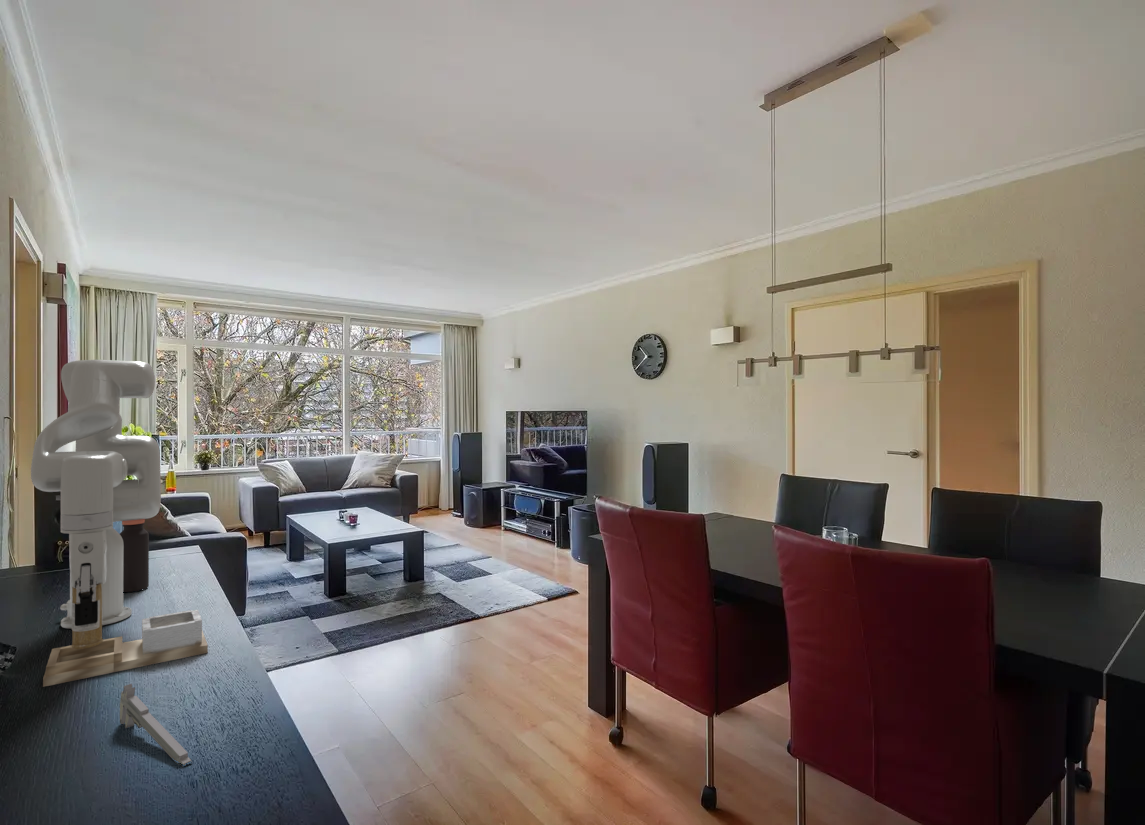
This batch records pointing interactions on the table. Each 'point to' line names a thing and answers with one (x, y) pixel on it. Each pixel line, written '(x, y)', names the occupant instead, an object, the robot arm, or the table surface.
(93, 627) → the sprinkles bottle
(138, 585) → the vinegar
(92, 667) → the stand board
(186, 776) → the table surface
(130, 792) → the table surface
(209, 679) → the table surface
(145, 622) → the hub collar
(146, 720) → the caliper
